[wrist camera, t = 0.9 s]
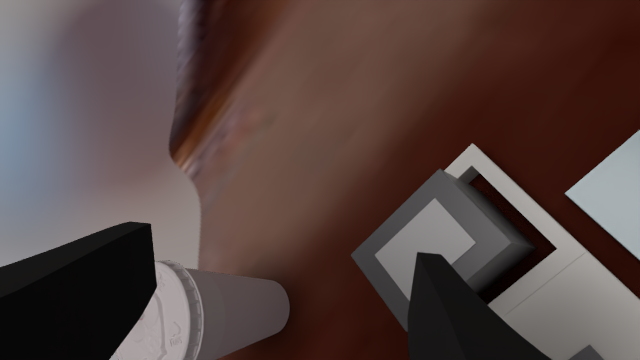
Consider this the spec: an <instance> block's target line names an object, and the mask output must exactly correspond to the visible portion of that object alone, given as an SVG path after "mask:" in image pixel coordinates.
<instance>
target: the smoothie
mask: <svg viewBox="0 0 640 360" xmlns="http://www.w3.org/2000/svg"><path fill="white" fill-rule="evenodd" d="M155 270H156V280H157V288H156V290H155V292H154V294H153V296H152V298H151V300H150V302H149V304H148V305H147V307H146V309H145V311H144V312H143V314H142V316H141V317H140V319H139V320H138V322H137V323H136V324H135V326H134V327H133V329H132V330H131V331H130V333H129V334H128V335H127V337H126V338H125V339H124V341H123V342H122V343H121V345H120V346H119V347H118V349H117V350H116V354H117V358H118V360H216V359H218V358H220V357H223V356H225V355H227V354H230V353H232V352H234V351H237V350H239V349H241V348H244V347H246V346H248V345H251V344H253V343H255V342H257V341H260V340H262V339H264V338H267V337H269V336H271V335H274V334H276V333H278V332H279V331H281V330H282V329H283V327H284V326H285V324H286V323H287V320H288V317H289V311H290V305H289V299H288V296H287V294H286V292H285V290H284V288H283V287H282V286H281V285H280V284H279V283H277V282H275V281H273V280H267V279H259V278H252V277H245V276H238V275H230V274H223V273H216V272H208V271H201V270H196V269H187V268H184V267H183V266H181V265H180V264H179V263H176V262H173V261H170V260H166V261H158V262H157V261H155Z"/></svg>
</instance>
